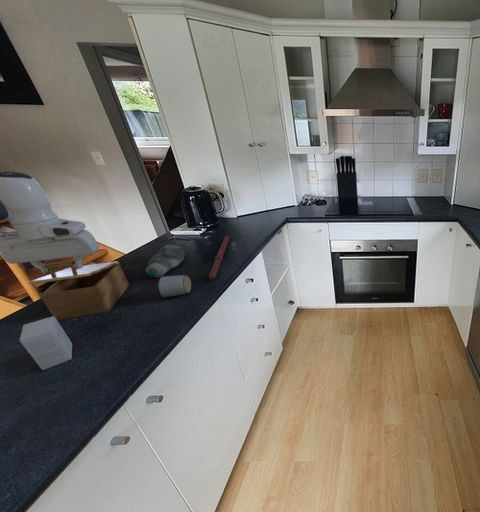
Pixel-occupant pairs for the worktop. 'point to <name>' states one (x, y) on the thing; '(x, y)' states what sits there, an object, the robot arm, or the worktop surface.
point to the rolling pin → (219, 258)
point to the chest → (86, 293)
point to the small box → (46, 342)
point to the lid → (71, 271)
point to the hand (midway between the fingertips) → (64, 270)
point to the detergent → (165, 260)
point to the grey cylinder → (174, 285)
